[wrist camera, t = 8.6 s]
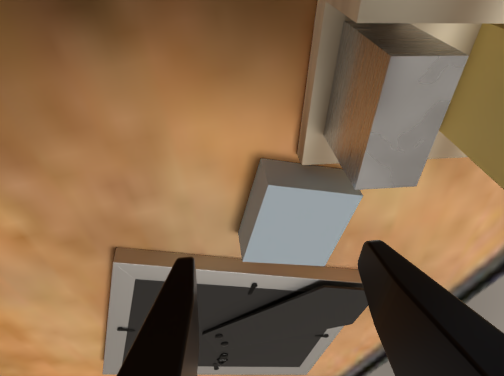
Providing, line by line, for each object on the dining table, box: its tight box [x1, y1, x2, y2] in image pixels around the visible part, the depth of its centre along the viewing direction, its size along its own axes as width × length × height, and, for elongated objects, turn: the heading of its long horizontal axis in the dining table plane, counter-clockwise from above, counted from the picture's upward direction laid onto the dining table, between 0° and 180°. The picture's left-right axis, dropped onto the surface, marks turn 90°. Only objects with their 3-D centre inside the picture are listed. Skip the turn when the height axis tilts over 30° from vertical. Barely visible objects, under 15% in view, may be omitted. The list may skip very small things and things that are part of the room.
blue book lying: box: [238, 158, 363, 266], centre depth 24 cm, size 6×6×3 cm
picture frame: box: [103, 247, 368, 375], centre depth 32 cm, size 16×3×21 cm
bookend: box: [323, 21, 469, 190], centre depth 17 cm, size 3×6×5 cm, turn 178°
